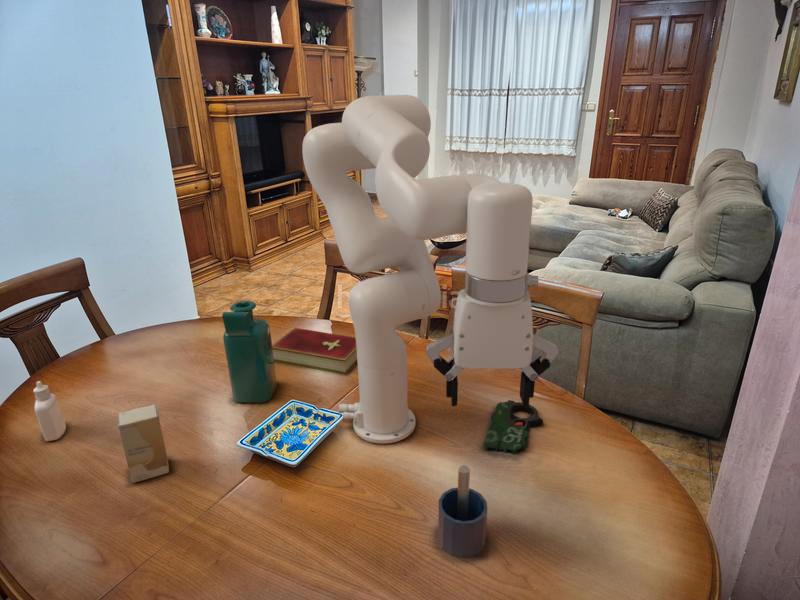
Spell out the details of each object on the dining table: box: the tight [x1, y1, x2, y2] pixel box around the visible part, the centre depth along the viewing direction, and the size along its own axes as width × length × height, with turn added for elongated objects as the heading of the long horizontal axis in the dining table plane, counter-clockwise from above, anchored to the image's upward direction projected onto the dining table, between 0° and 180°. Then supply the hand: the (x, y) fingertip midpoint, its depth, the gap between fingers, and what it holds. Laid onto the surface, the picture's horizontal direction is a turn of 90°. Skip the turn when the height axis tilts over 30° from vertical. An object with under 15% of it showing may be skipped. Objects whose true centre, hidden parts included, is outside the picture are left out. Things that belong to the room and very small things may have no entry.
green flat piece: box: [483, 399, 544, 456], centre depth 101 cm, size 16×2×10 cm
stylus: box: [457, 464, 471, 521], centre depth 74 cm, size 2×2×13 cm
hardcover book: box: [272, 327, 358, 376], centre depth 130 cm, size 12×21×4 cm, turn 70°
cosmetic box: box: [117, 403, 170, 484], centre depth 90 cm, size 6×4×12 cm
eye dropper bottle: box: [32, 380, 67, 442], centre depth 101 cm, size 4×6×12 cm
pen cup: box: [437, 486, 488, 559], centre depth 76 cm, size 7×7×7 cm
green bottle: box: [222, 300, 278, 404], centre depth 110 cm, size 10×8×22 cm
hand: (488, 400), depth 70 cm, fingers open, 9 cm apart
